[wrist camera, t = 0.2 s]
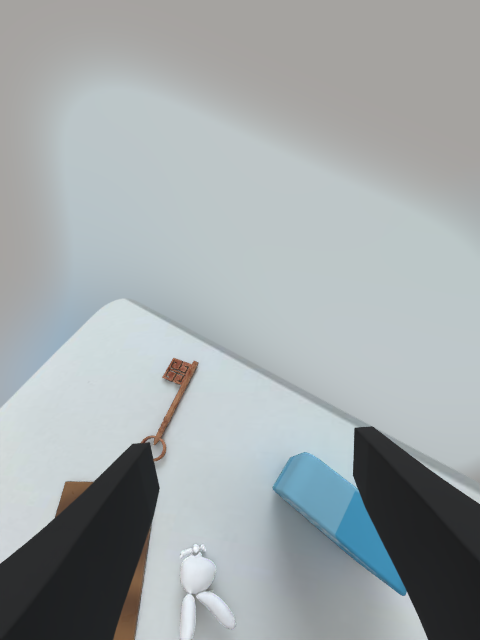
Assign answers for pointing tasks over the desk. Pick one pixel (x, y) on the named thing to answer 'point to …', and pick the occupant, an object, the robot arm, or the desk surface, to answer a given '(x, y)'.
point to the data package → (336, 513)
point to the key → (177, 398)
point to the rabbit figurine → (200, 592)
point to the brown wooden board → (130, 610)
